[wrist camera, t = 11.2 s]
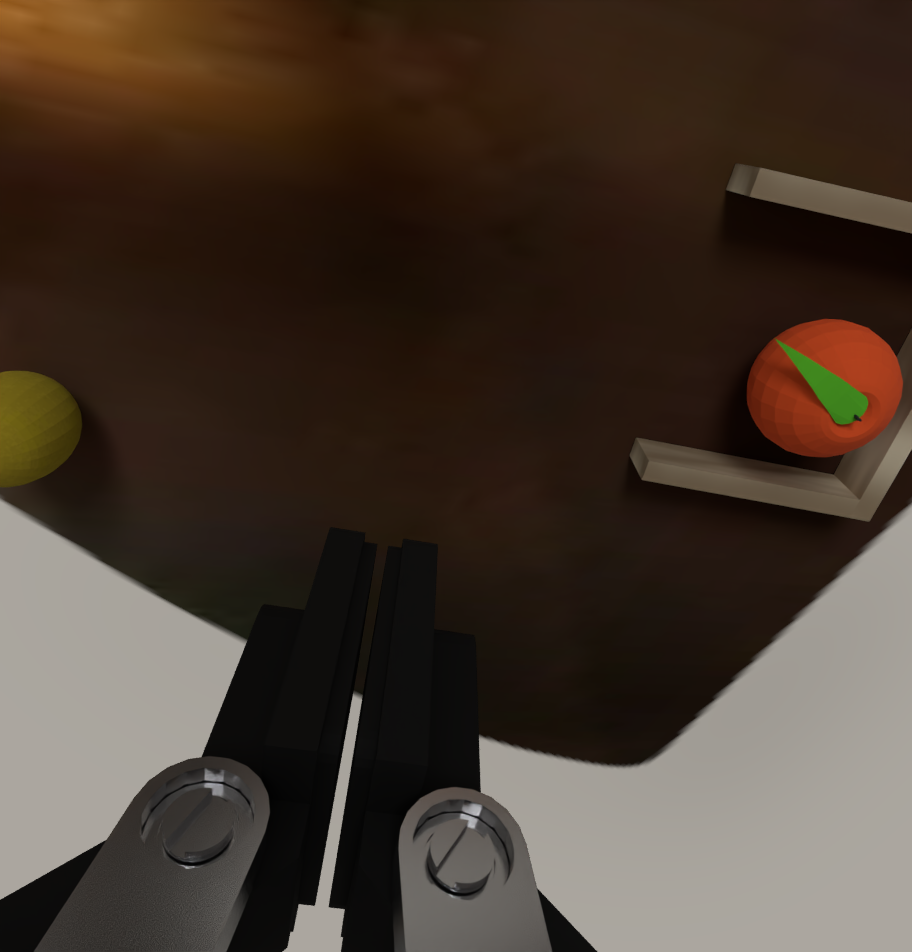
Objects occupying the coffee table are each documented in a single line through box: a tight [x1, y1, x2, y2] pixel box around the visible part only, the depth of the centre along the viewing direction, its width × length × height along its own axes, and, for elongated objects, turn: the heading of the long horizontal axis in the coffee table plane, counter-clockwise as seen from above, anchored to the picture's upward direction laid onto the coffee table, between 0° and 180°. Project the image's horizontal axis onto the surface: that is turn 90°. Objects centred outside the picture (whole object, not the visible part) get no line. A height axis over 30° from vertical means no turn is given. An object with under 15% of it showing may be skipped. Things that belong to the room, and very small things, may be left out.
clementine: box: [747, 319, 903, 457], centre depth 34 cm, size 8×7×7 cm
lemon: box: [0, 371, 82, 487], centre depth 35 cm, size 6×6×8 cm
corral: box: [630, 164, 912, 521], centre depth 35 cm, size 16×14×3 cm
